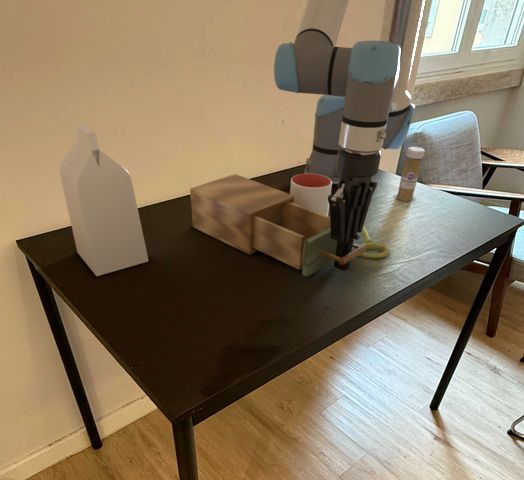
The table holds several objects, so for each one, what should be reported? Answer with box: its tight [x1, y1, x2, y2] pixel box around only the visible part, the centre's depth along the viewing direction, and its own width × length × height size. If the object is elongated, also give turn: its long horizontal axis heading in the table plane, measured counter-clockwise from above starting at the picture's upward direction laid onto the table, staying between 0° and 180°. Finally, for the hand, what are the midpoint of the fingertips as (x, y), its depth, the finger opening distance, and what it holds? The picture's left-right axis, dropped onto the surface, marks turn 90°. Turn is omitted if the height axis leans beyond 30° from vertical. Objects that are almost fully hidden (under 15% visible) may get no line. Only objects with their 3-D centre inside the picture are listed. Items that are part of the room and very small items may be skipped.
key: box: [358, 225, 389, 259], centre depth 105 cm, size 7×12×2 cm, turn 23°
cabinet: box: [189, 173, 294, 256], centre depth 107 cm, size 20×15×10 cm
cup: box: [289, 173, 333, 217], centre depth 113 cm, size 10×10×10 cm
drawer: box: [252, 201, 368, 278], centre depth 97 cm, size 25×13×8 cm, turn 47°
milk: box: [59, 124, 150, 277], centre depth 90 cm, size 12×12×26 cm
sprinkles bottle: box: [396, 146, 425, 202], centre depth 124 cm, size 5×5×13 cm
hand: (341, 267), depth 94 cm, fingers closed
